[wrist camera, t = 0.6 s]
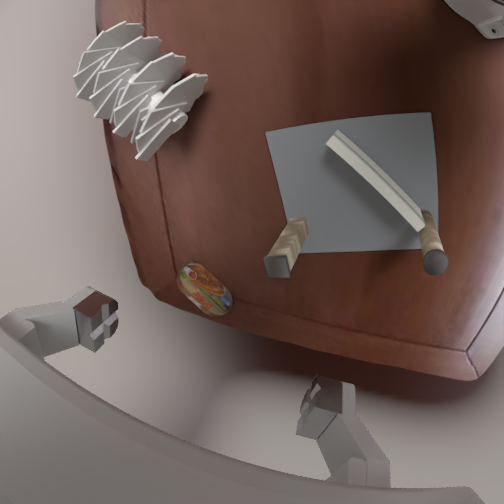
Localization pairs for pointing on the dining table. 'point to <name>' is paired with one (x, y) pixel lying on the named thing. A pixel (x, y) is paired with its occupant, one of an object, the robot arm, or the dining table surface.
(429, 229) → the gate posts
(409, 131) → the mat
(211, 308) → the tin
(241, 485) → the robot arm
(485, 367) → the dining table surface
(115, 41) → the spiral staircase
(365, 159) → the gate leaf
